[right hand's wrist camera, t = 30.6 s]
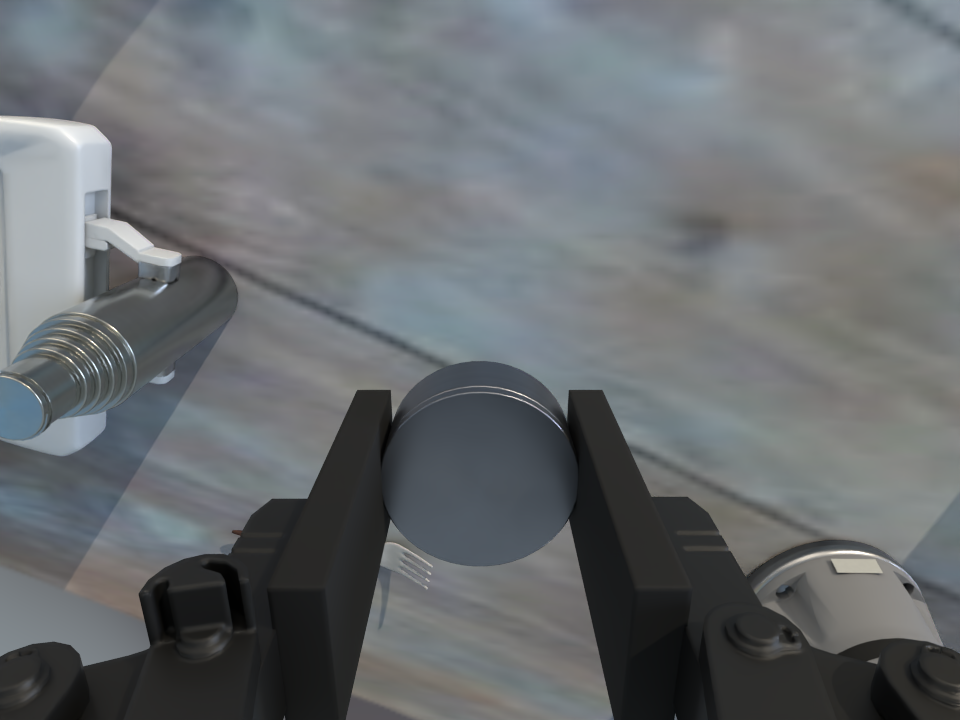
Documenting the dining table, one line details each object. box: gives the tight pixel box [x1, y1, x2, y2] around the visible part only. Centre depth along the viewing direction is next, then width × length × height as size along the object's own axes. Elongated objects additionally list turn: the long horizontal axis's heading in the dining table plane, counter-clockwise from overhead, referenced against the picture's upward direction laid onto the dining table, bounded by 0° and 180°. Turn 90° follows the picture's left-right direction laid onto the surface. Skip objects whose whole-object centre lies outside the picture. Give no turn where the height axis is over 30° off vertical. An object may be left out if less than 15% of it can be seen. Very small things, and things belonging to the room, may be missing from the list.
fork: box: [232, 530, 433, 589], centre depth 50 cm, size 3×16×2 cm, turn 78°
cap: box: [381, 361, 579, 566], centre depth 14 cm, size 4×4×2 cm
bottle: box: [0, 256, 238, 441], centre depth 35 cm, size 5×5×19 cm
